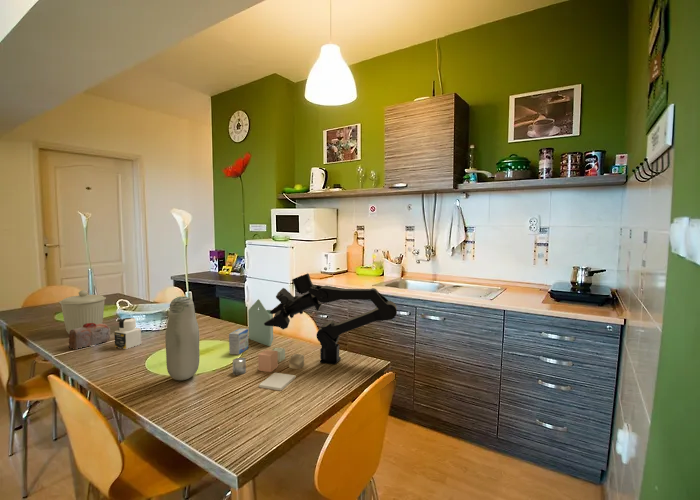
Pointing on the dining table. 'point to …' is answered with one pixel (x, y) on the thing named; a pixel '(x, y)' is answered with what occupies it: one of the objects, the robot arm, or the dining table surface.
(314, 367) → the dining table surface
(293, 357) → the birch block
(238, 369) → the grey metal cylinder
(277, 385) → the grey mat
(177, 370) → the grey squeeze bottle
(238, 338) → the medicine box
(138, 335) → the medicine bottle
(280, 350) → the sage block
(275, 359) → the coral block
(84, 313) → the canister
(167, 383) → the dining table surface
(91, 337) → the food item
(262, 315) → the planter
